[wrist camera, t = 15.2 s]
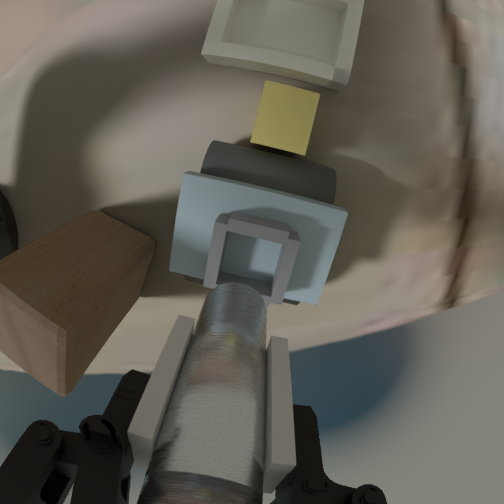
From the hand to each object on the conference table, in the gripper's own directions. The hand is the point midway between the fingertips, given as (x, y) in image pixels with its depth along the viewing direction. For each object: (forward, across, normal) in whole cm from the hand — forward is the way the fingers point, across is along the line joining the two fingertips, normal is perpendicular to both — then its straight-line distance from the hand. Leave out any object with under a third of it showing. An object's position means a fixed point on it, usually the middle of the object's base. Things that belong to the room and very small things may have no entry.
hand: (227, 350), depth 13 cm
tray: (+22, -1, +23) cm, 32 cm away
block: (+22, -16, -8) cm, 29 cm away
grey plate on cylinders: (+22, +1, +1) cm, 22 cm away
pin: (+4, 0, 0) cm, 4 cm away
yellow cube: (+22, +1, +12) cm, 25 cm away
